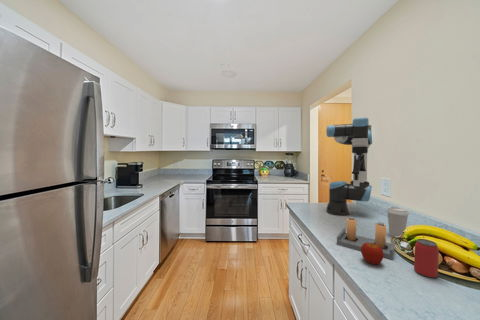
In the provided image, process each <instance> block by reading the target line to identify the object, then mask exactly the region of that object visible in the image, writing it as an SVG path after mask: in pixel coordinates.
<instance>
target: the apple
mask: <svg viewBox="0 0 480 320" xmlns="http://www.w3.org/2000/svg"><path fill="white" fill-rule="evenodd" d="M360 252H361V256H362V258H363V260H364V261H366V262H367V263H369V264H370V265H371V264H372V265H379V264H381V263H382V262H383V259H384V254H383V251H382V249H381V248H380V247H379V246H378V245H376V244H373V243H364V244H363V245H362V246H361V251H360Z"/></svg>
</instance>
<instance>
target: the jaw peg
mask: <svg viewBox="0 0 480 320" xmlns="http://www.w3.org/2000/svg"><path fill="white" fill-rule="evenodd" d="M346 233H347V239H346V240H349V241H353V242H356V235H357V219H356V218H355V217H353V216H348V217H347V218H346Z"/></svg>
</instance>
